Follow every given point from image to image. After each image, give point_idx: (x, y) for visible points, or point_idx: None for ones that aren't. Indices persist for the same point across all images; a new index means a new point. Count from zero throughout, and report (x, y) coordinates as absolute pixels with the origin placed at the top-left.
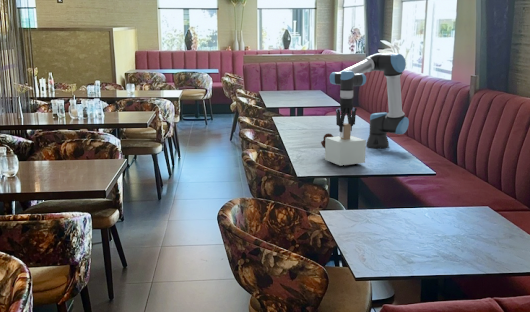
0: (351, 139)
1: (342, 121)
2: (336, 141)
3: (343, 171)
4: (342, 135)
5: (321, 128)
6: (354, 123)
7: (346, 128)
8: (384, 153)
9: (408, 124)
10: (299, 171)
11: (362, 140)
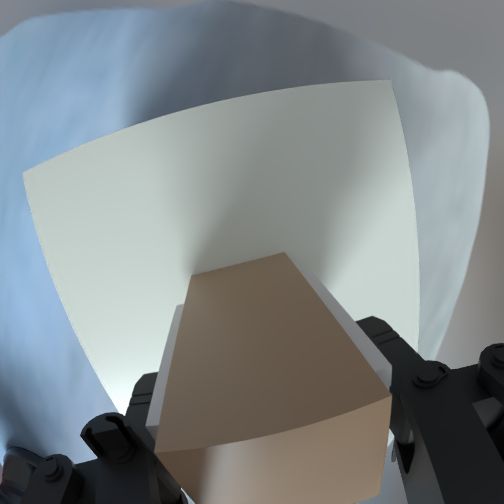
0: (177, 251)
1: (488, 463)
2: (409, 175)
3: (302, 61)
4: (323, 289)
5: None
6: (43, 471)
7: (289, 344)
8: (5, 391)
9: None
10: (484, 145)
11: (58, 160)
